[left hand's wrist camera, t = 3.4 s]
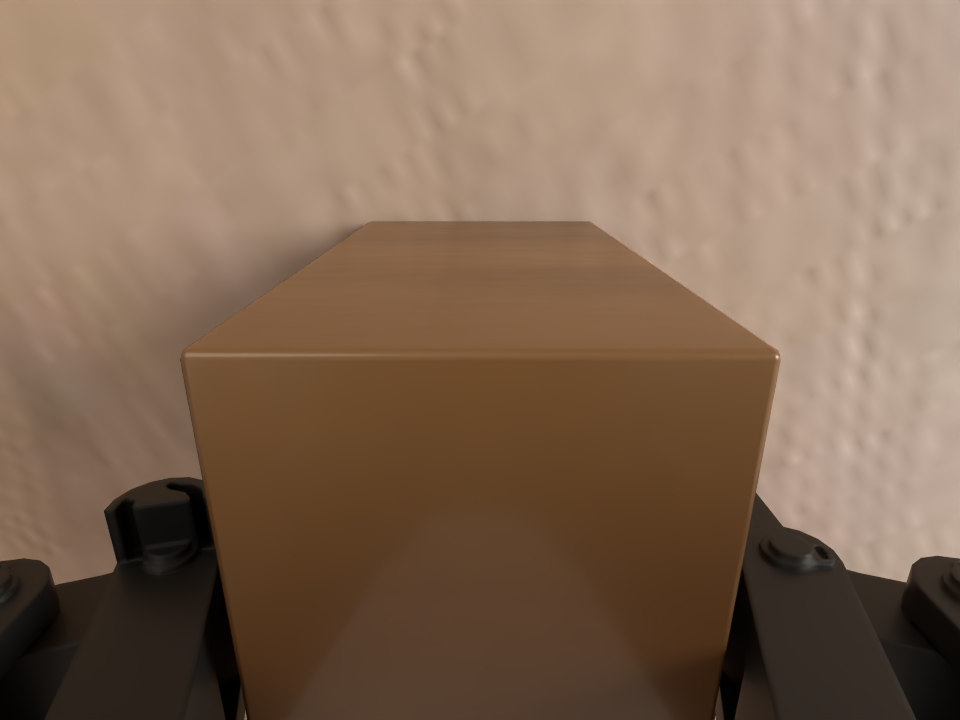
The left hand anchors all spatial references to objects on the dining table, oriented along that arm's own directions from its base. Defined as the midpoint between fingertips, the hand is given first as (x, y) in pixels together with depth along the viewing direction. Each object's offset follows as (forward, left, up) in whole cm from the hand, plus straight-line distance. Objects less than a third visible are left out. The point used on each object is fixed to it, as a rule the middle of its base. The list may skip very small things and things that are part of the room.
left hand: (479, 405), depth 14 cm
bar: (+10, 0, -1) cm, 10 cm away
